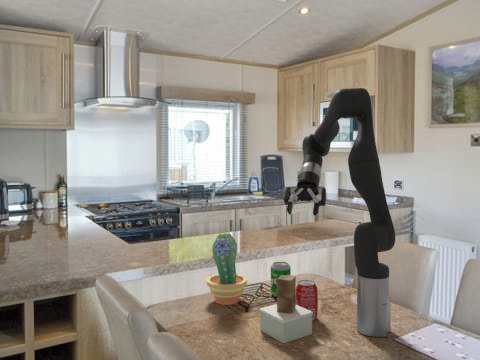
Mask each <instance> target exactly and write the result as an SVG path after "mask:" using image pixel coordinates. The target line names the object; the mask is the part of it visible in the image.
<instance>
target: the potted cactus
mask: <svg viewBox="0 0 480 360" xmlns="http://www.w3.org/2000/svg"><path fill="white" fill-rule="evenodd" d="M211 249H212V250H211V251H212V258H213V261H214V262H215V264H216V269H217V272H218V273H217V274H213V275H210V276H208V277H206V279H205V280H206V285H207V287H209V290H210V293H211V294H212V296H213V297H214V303H216V304H218V305H223V306H227V305H228V306H229V305H234V304H237V303H239V301H240V300H239V299H240V297H241V295H242V294H243V292H244V289H245V286H247V284H248V278H247V276H245V275H242V274H237V272H236V271H237V270H236V269H237V268H236V258H237V255H238V254H237V253H238V252H237V251H238V250H237V249H238V243H237V242H236V240H235V238H234V237H233V236H232V234H231V233H230V232H228V233H227V232H223V233H221V232H220V233H219V234H217V237H216V238H215V240H214V241H213V243H212V245H211Z"/></svg>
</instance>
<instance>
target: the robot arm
mask: <svg viewBox="0 0 480 360" xmlns="http://www.w3.org/2000/svg"><path fill="white" fill-rule="evenodd" d="M372 108H373V107H372V99H371V96H370V92H369V91H368V90H367V89H366V88H365V87H364V88H363V87H353V88H339V89H337V90H336V92H335V93H334V94H333V96H332V97H331V100H330V102H329V104H328V106H327V109H326V112H325V115H324V117H323V119H322V121H321V123H320V124H319V125H318V127H316V130H315V131H314V133H308V134H307V135H305V136H304V138H303V140H302V146H301V147H302V154H303V161H302V166H301V167H300V170H299V173H298V179H297V183H296V186H295V188H294V189H293V188H292V189H291V187H287V188H286V190H285V193H284V197H283V203H284V205H287V206H286V211H287V213H288V215H292V212H293V209H294V205H295V204H298V203H299V202H312V203H313V209H312V213H313V216H317V215H318V214H319V210H320V207H325V206H326V205H327V196H328V195H327V189H326V188H325V187H324V188H322V189H319V186H320V181H321V175H322V166H323V161H324V160H323V157H326V156H328V154H329V152H330V149H331V144H332V142H333V141H334V139H336V137H337V135H338V134H339V133H340V122H339V120H340V119H356V121H357V123H356V124H357V132H356V137H355V140H354V142H353V145H352V147H351V149H350V152H349V153H348V154H349V155H348V158H347V164H348V171H349V177H350V181H351V183H352V185H353V187H354V189H355V190H356V192H357V193H358V195H360V197H361V198H362V200H363V201H364V202H365V205H366V207H367V210H368V212H369V218H370V221H369V222H367V221H366V222H361V223H359V224H358V225H357V226H356V227H355V230H354V233H353V249H354V250H353V251H354V264H355V267H356V330H357V332H358V333H360V334H362V335H364V336H368V337H372V338H373V337H375V338H380V337H382V338H386V337H388V334H389V333H390V331H391V320H392V319H391V316H392V315H391V310H392V308H391V306H392V303H391V302H392V300H391V299H390V268H389V266H388V265H387V264H386V263H382V262H379V253H381V252H382V253H383V252H389V251H391V250H392V249H393V248H394V246H395V244H396V238H397V237H396V231H395V227H394V224H393V223H394V222H393V219H392V216H391V212H390V208H389V206H388V202H387V197H386V192H385V188H384V187H385V186H384V182H383V177H382V171H381V165H380V164H381V163H380V159H379V153H378V149H377V143H376V137H375V129H374V119H373V117H374V116H373V109H372ZM318 195H319V196H321V197H320V200H319V199H318V198H317V196H318Z"/></svg>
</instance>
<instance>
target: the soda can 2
mask: <svg viewBox="0 0 480 360" xmlns="http://www.w3.org/2000/svg"><path fill="white" fill-rule="evenodd" d="M318 298H319V295H318V287H317V284H316V281H315V280H312V279H301V280H298V281H297V284H296V305H298V306H300V307H303V308H305V309H307V310H310V311H312V312H313V315H312V322H313V321H314V320H315V319H317V318H318V308H319V304H318V303H319V299H318Z"/></svg>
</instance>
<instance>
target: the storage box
mask: <svg viewBox="0 0 480 360" xmlns="http://www.w3.org/2000/svg"><path fill="white" fill-rule="evenodd" d="M258 311H259V313H260V314H259V315H260V318H259V319H260V322H259V324H260V326H259V327H260V328H259V329H260V331H261V332H263V333H264V334H266V335H268V336H269V337H271V338H273V339H275V340H277V341H279V342H281V343H282V344H285V343H288V342H292V341H294V340H298V339H301V338H303V337H308V336H309V335H312V334H313V321H312V315H313V312H312V311H310V310H307V309H305V308H303V307H300V306H298V305H296V309H295V310H294V312H293V313H292V314H289V313H282V312H277V303H275V304H272V305H271V304H270V305H269V306H264V307H261V308H259V310H258Z"/></svg>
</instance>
